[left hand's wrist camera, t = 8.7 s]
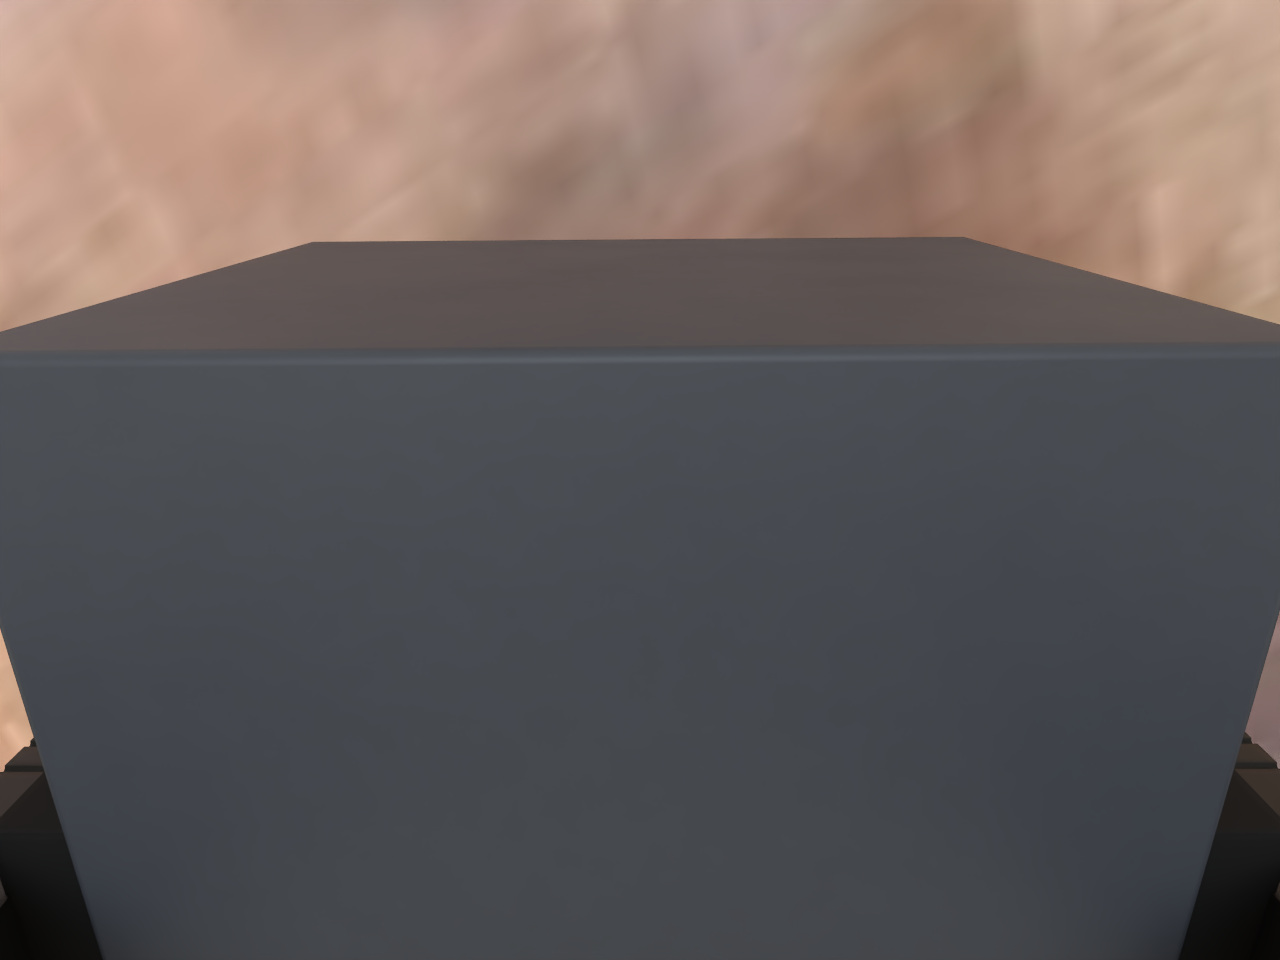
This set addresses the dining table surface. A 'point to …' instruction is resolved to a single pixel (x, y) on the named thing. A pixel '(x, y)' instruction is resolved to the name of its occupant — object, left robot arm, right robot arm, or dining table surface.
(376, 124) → the dining table surface
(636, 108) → the dining table surface
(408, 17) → the dining table surface
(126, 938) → the thick board
